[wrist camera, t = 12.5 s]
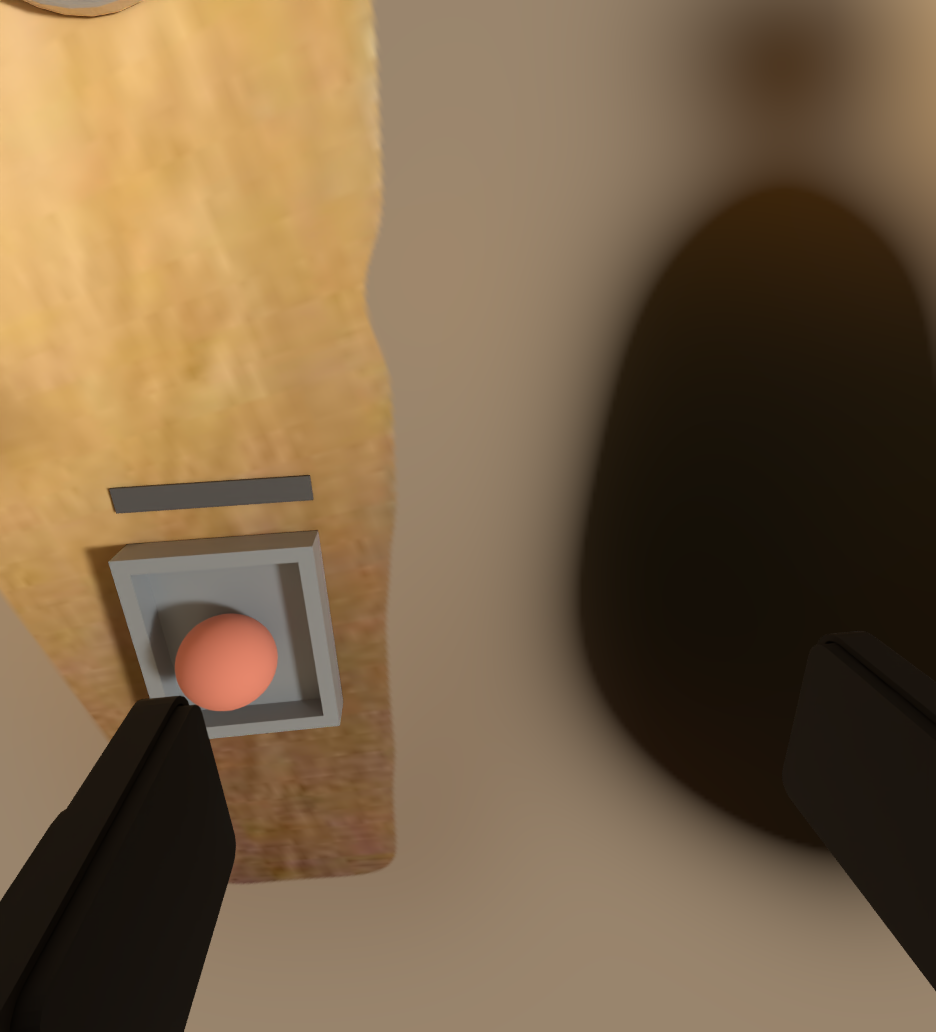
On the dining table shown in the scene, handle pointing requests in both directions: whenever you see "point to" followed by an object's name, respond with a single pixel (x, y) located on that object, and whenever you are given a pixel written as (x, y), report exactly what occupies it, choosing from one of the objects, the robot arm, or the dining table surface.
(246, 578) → the tray
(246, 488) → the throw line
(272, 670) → the ball
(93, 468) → the dining table surface
